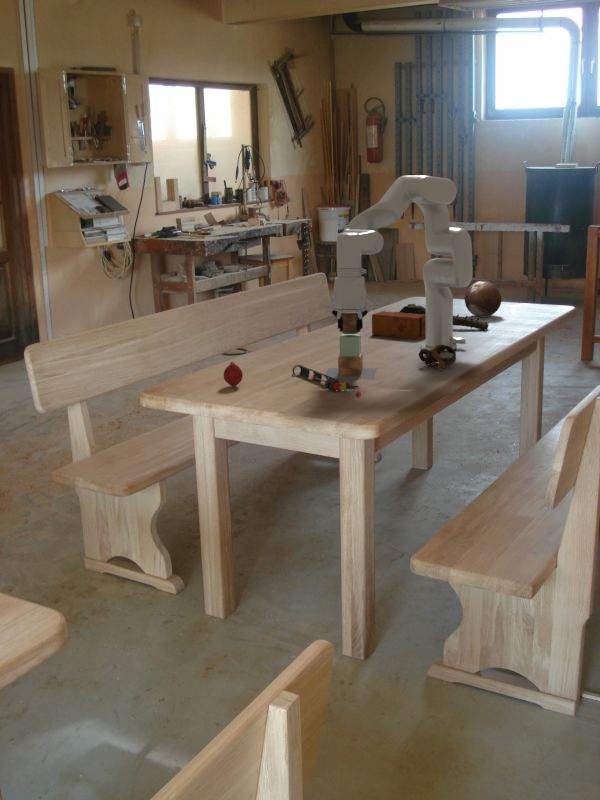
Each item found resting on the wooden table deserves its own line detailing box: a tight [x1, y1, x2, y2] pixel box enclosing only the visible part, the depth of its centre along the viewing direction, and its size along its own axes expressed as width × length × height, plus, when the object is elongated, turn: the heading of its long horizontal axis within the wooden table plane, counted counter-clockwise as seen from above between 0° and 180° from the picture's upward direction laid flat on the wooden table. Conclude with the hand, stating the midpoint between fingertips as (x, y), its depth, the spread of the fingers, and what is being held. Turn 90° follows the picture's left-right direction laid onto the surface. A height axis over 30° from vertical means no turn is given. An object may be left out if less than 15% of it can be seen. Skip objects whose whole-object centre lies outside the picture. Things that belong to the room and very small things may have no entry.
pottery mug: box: [418, 345, 457, 370], centre depth 304 cm, size 12×10×8 cm
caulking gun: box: [292, 364, 362, 399], centre depth 285 cm, size 4×37×10 cm
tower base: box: [337, 351, 364, 376], centre depth 298 cm, size 7×7×6 cm
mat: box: [322, 367, 379, 380], centre depth 299 cm, size 16×14×1 cm
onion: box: [223, 361, 244, 388], centre depth 286 cm, size 6×6×8 cm
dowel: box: [341, 311, 359, 334], centre depth 295 cm, size 5×5×6 cm
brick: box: [371, 310, 425, 340], centre depth 356 cm, size 20×8×8 cm, turn 55°
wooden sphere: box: [464, 280, 503, 318], centre depth 388 cm, size 15×15×15 cm
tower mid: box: [339, 333, 362, 357], centre depth 297 cm, size 6×6×6 cm
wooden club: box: [398, 303, 489, 331], centre depth 367 cm, size 39×5×10 cm, turn 73°
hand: (350, 330), depth 295 cm, fingers closed on dowel, 4 cm apart
